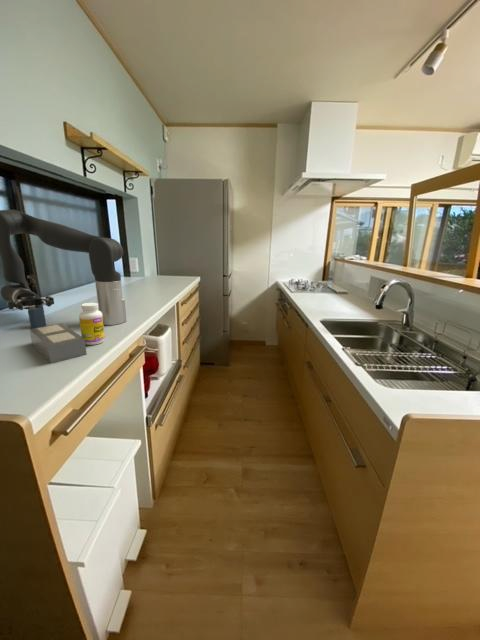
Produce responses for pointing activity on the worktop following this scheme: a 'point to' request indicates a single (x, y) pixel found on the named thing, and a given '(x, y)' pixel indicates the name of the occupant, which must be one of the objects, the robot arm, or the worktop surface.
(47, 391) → the worktop surface
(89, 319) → the supplement bottle
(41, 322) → the vaping device
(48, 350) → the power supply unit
